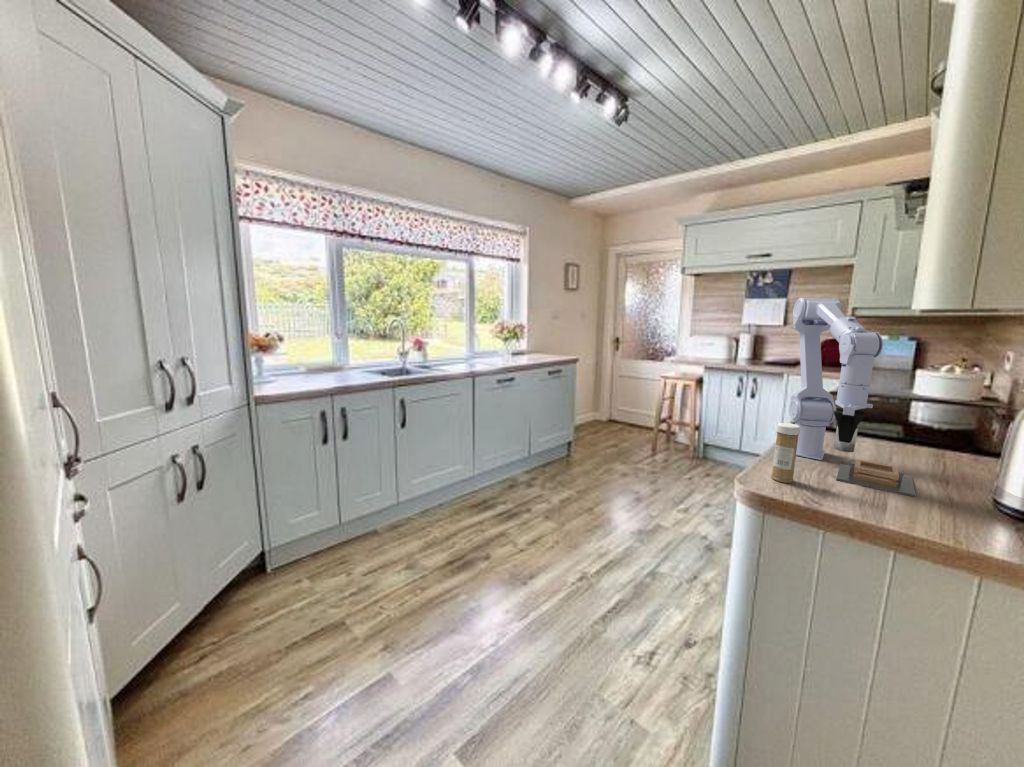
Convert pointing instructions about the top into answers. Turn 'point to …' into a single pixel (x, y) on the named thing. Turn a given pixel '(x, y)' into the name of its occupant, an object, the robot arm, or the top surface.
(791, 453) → the sprinkles bottle
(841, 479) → the collar stand
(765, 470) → the top surface
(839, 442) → the metal cylinder
